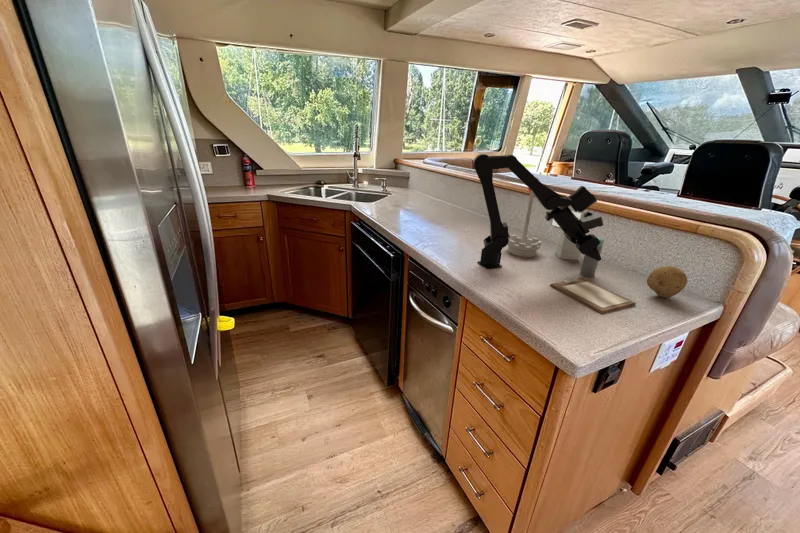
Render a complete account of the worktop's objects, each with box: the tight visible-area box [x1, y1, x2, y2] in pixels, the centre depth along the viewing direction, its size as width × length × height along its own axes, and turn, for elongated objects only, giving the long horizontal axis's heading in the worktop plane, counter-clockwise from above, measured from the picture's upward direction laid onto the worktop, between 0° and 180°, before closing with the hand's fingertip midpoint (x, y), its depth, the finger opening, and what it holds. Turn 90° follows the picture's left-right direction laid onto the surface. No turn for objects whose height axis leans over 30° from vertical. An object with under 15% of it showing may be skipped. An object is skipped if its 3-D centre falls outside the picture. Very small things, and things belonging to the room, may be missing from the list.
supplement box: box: [554, 228, 582, 261], centre depth 128 cm, size 7×7×13 cm
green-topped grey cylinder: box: [579, 236, 605, 278], centre depth 111 cm, size 4×4×13 cm
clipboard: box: [549, 277, 636, 314], centre depth 99 cm, size 14×18×1 cm
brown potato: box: [646, 265, 688, 299], centre depth 97 cm, size 9×9×10 cm
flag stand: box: [506, 176, 542, 258], centre depth 128 cm, size 13×13×30 cm
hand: (594, 255), depth 111 cm, fingers open, 9 cm apart
